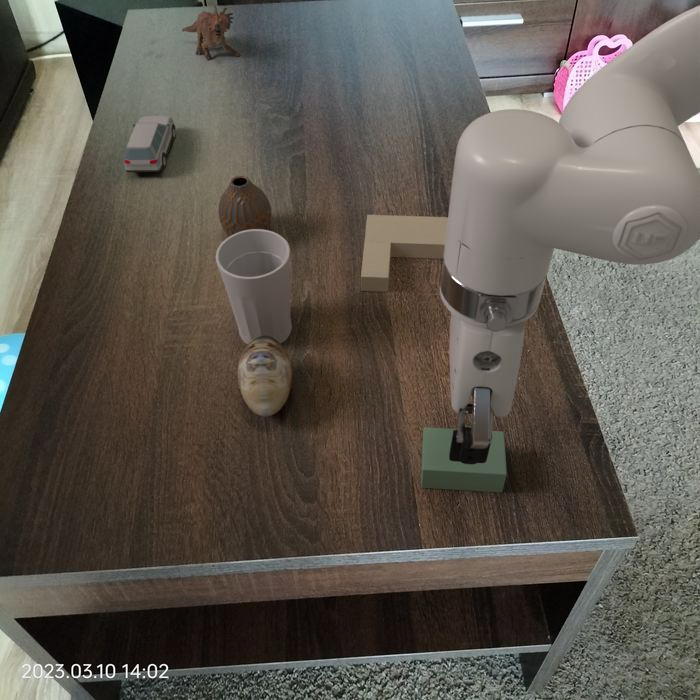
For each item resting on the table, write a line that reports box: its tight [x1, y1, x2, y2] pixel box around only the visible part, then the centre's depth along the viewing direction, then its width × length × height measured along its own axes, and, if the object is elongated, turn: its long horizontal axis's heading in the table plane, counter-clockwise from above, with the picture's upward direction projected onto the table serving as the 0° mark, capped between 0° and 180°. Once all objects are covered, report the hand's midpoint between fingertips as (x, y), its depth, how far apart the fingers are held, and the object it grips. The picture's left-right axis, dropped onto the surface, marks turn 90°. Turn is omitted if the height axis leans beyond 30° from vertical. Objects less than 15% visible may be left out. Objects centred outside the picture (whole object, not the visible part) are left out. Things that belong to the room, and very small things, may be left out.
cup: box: [215, 229, 293, 345], centre depth 83 cm, size 8×8×12 cm
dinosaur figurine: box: [181, 5, 241, 61], centre depth 129 cm, size 14×6×9 cm, turn 42°
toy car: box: [123, 114, 176, 173], centre depth 110 cm, size 6×13×5 cm, turn 178°
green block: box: [420, 426, 508, 494], centre depth 72 cm, size 8×5×4 cm, turn 85°
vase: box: [218, 175, 273, 237], centre depth 95 cm, size 7×7×9 cm
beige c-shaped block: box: [360, 214, 448, 293], centre depth 93 cm, size 16×12×2 cm
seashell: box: [237, 335, 293, 417], centre depth 77 cm, size 10×6×8 cm, turn 4°
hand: (466, 414), depth 67 cm, fingers open, 9 cm apart
